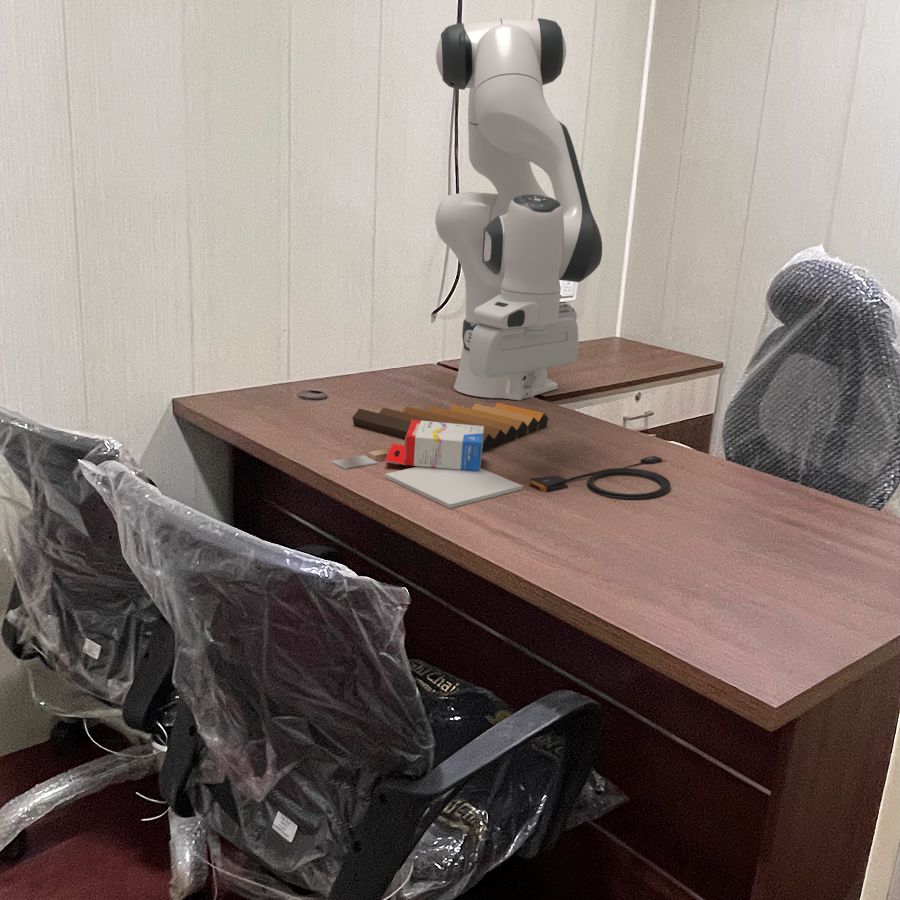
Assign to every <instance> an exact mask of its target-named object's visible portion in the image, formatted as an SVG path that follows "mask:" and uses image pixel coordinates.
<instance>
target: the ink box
mask: <svg viewBox="0 0 900 900" xmlns="http://www.w3.org/2000/svg"><path fill="white" fill-rule="evenodd" d="M483 435H484V426H476V425H464V424H453V423H442V422H431V421H421V420H412V421H411V424H410V427H409V429H408V432H407V435H406V437H405V439H404V444H403V445H401V444H396V443H393V444H392V443H391V445H390V447H389V448H390V449H389V452H388V454H387V457H386V460H384V461H385V463H389V464H397V465H403V466H411V467H412V466H413V467H418V466H421V467H434V468H445V469H456V470H468V471H480V468H481V463H482V455H483V454H482V453H483V452H482V448H483ZM396 451H399V452H400V454H399V456H398V457H396V456H394V455H395V454H394V453H395V452H396Z"/></svg>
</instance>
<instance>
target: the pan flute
mask: <svg viewBox="0 0 900 900" xmlns="http://www.w3.org/2000/svg"><path fill="white" fill-rule="evenodd" d="M351 418H352V421H353V422H352V423H353V426H355V427H358V428H362V429H366V430H370V431H373V432H377V433H381V434H384V435H387V436H392V437H396V438H399V439H402V438H403V439H404V440H405V437H406V435H407V432H408V429H409V427H410V424H411V421H412V420H421V421H431V422H442V423H453V424H464V425H476V426H484V435H483V448H482V453H485V452H488V451H489V450H492V449H493V448H497V447H500V446H502V445H504V443H506V444H507V443H510V442H512V441H515V440H516V439H520V438H522V437H525V436H526V435H527V434H528V435H529V434H532V433H535V432H537V431H540V430H542V429H545V428H547V426H548V422H549V417H548V416H547V415H546V414H545V413H544V412H540V411H537V410H536V411H535V410H532V409H528V408H524V407H519V406H515V405H511V404H510V405H509V404H507V403H506V404H505V403H501V402H496V404H495V405H494V407H493V406H488V405H483V404H479V403H474V404H473V406H472V407H470V408H469V407H465V406H461V405H458V404H452V405H451V406H450V407H449V409H448V408H447V409H446V408H442V407H439V406H433V405H429V406H428V408H426V410H423V409H419V408H414V407H411V406H406V407H405V408H404V409H403V411H399V410H395V409H391V408H387V407H382V408H381V410H380V411H379V412H376V411H375V412H374V411H372V410H371V411H370V410H367V409H363V408H358V409H357V411H356V412H355V414H353V415H352V417H351ZM403 439H402V440H403Z"/></svg>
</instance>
